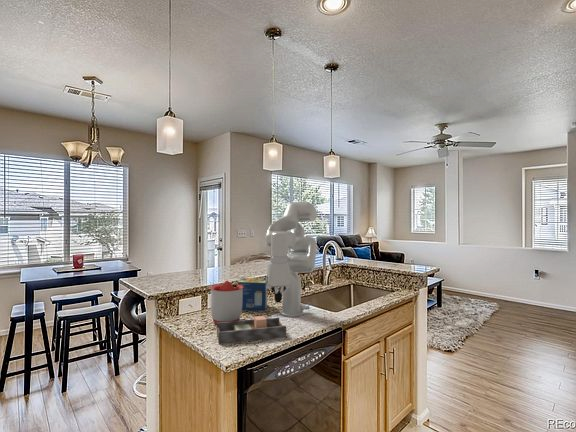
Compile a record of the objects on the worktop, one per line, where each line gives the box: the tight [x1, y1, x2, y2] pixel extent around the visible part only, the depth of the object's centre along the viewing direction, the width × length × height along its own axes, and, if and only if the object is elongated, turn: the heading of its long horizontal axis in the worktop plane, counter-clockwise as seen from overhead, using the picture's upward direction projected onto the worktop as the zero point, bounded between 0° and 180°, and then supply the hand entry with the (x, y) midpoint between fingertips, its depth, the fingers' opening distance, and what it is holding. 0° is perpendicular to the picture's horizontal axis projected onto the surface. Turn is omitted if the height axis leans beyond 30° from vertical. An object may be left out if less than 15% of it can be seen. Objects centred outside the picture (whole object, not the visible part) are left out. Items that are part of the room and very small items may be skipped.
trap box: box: [216, 317, 287, 345], centre depth 133 cm, size 28×12×4 cm, turn 107°
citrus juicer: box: [210, 280, 243, 325], centre depth 150 cm, size 16×17×20 cm
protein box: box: [237, 277, 268, 312], centre depth 173 cm, size 10×15×16 cm
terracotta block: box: [253, 315, 267, 328], centre depth 134 cm, size 4×4×4 cm
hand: (278, 301), depth 136 cm, fingers closed
